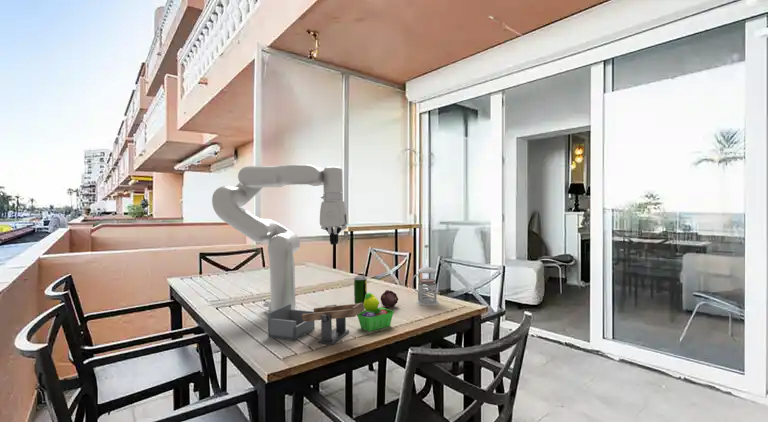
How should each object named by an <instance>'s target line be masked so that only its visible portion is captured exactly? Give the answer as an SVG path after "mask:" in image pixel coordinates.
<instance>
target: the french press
mask: <svg viewBox="0 0 768 422" xmlns="http://www.w3.org/2000/svg"><path fill="white" fill-rule="evenodd" d="M429 247H430V246H429V245H428V244H424V248H426V253H425V254H426V255H425V256H426V258H428V253H427V252H428V248H429ZM417 272H418V273H420V274H435V273H437V269H435V268H433V267H430V266H425V267H421V268H419V269H418V270H417ZM418 273H417V274H416V273H415V274H414V275H413V276H412V278H411V286H412V289H413V290H414V291H416V292H417V301H416V304H417V305H418V306H419V305H420V306H423V307H424V306H427V307H429V306H437V305H439V304H440V302H439V301H438V299H437V283H436V279H434V278H428V277H426V278H420V279H418V281H419V282H418V283H417V284H418V289H416V288H415V287H414V285H413V283H414V279H415V277H417V278H419V277H420V275H419V274H418Z"/></svg>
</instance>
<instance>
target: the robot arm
mask: <svg viewBox="0 0 768 422" xmlns="http://www.w3.org/2000/svg"><path fill="white" fill-rule="evenodd" d="M237 178H238V181H239V183H238V184H236V186H232V185H223V186H220V187H218V188H216V190H214V191H213V193H212V197H211V203H212V204H211V205H212V208H213V210H214V212H215V214H216V216H218V218H219V219H221V220H222V221H223V222H224V223H226V224H227V225H229V226H230V227H232V228H234V229H235V230H236V231H238V232H239V233H241V234H242V235H244V236H246V237H247V238H249V239H250V240H251V241H253V242H256V243H260V244H261V243H267V244H268V245H267V253H268V260H269V261H268V262H269V277H270V279H269V280H270V282H269V283H270V284H269V285H270V287H269V288H270V300H265V301H264V303H263V304H262V305H263V307H265V308H266V307H267V308H268V309H267V311H266V315H267V316H268V313H269V312H271V311H273V310H276V309H278V308H280V307H282V306H285V305H287V304H291V309H292V310H301V308H300V307H299V306H296V270H295V269H296V268H295V267H296V266H295V259H294V254H295V253H297V252H298V250H299V249H300V246H301V241H300V238H299V236H298V235H297V234H295V233H294V231H292V230H290V229H288V228H287V227H285V226H284V225H282V224H280V223H278V221H275V220H273V219H271V218H261V217H258V216H256V215H255V214H253V213H251V212H250V211H249V210H246V209H245V208H243V207H244V206H245V205H247V204H248V203H249V202H250V201H251V200H252V199H253V198H254V197H256V195H257V194H258V193H260V191H261V190H262V189H263V188H282V187H284V186H290V185H291V186H293V185H308V186H313V187H318V186H322V187H323V193H322V195H321V196H320V198H321V199H322V200H323V201H321V204H320V211H319V225H320V226H321V227H320V229H321V230H324V231H326V232H327V234H328V235H329V242H330V245H332V246H333V245H338V243H339V235H340V232H342V231H343V230H347V227H348V226H347V224H348V219H347V218H348V217H347V214H348V213H347V208H346V203H345V201H344V197H343V195H344V194H343V193H344V191H343V190H344V189H343V186H344V185H343V169H342V168H341V167H340V166H336V165H335V166H334V165H333V166H332V165H331V166H325V167H323V168H322V167H317V166H316V165H314V164H313V165H312V164H287V165H253V166H252V165H251V166H250V165H249V166H244V167H242V168H241V169H240V170H239V172H238V174H237Z"/></svg>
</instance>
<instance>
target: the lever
mask: <svg viewBox="0 0 768 422" xmlns="http://www.w3.org/2000/svg"><path fill="white" fill-rule="evenodd" d="M313 311H314V313H308V314H302V318H303V322H304V321H314V322H316V321H321V315H331V318H332V320H333V319H335V320H336V318H355V317H356V316H357V315H358V314H359V313H361V312H363V311H365V308H364V304H363V303H358V304H355V303H352V304H351V303H350V304H342V305H341V304H340V305H339V304H330V305H328V304H327V305H325V306H321V307H314V308H313Z"/></svg>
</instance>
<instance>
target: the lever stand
mask: <svg viewBox="0 0 768 422" xmlns="http://www.w3.org/2000/svg"><path fill="white" fill-rule="evenodd" d="M332 320H333V319H332V318H331V315H321V320H320V323H321V324H320V325H321V326H320V327H321V329H320V330H321V333H320V335H321V338H319V339H318V340H317V344H320V345H331V346H333V345H335V344H336V343H337V342H339V341H340V340H341V339H342V338H344V337H345V336H346V335H347V334H349V333H350V329H347V327H346V326H347V325H346V321H347V320H346V318H336V319H335V328H334V329H333V328H332V324H333V322H332Z"/></svg>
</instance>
